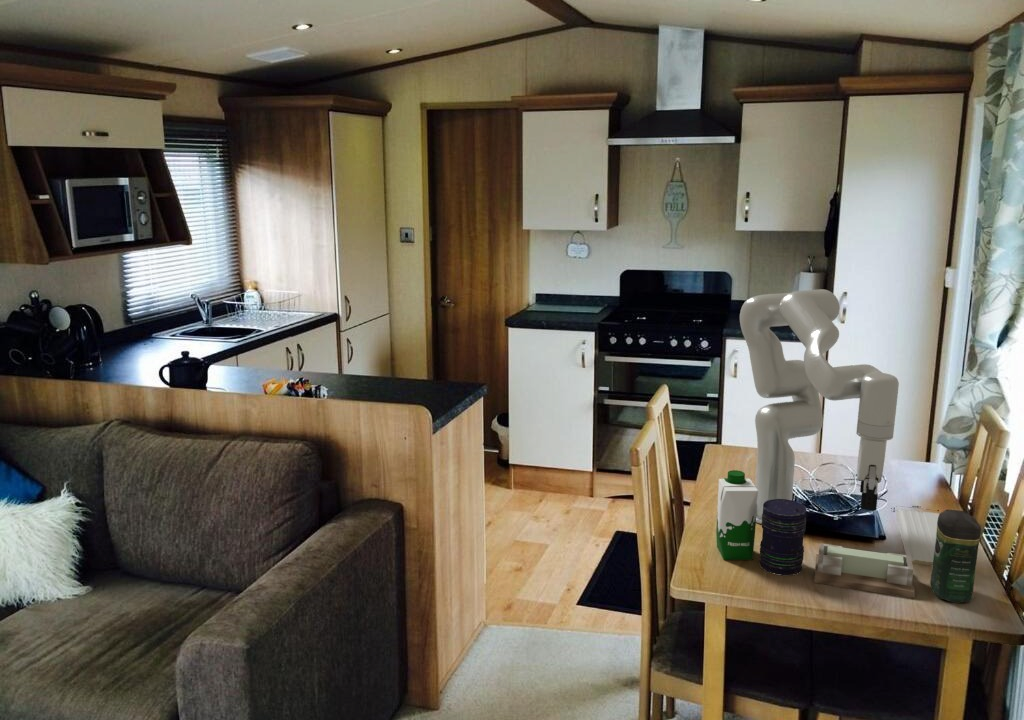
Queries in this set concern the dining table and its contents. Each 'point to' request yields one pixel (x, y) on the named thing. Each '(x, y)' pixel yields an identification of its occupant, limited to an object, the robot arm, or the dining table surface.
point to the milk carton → (736, 516)
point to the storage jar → (782, 536)
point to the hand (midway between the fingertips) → (867, 501)
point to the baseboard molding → (918, 534)
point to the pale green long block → (865, 561)
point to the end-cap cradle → (895, 583)
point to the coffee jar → (955, 556)
